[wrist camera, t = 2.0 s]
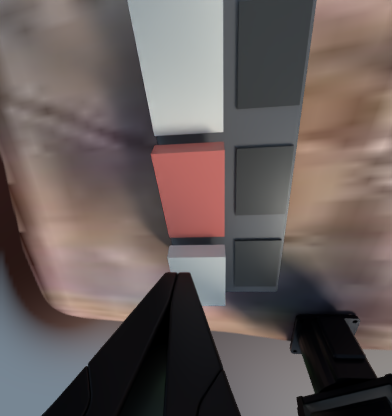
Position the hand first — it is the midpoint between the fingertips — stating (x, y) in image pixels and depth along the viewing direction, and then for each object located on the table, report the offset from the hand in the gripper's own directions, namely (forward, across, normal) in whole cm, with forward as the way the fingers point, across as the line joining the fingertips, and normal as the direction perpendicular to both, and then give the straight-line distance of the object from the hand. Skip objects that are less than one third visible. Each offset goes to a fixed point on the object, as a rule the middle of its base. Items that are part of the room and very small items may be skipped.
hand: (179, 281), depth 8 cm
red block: (+7, 0, 0) cm, 7 cm away
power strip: (+12, -2, 0) cm, 12 cm away
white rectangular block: (+7, 0, -7) cm, 10 cm away
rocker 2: (+7, 0, +6) cm, 9 cm away
